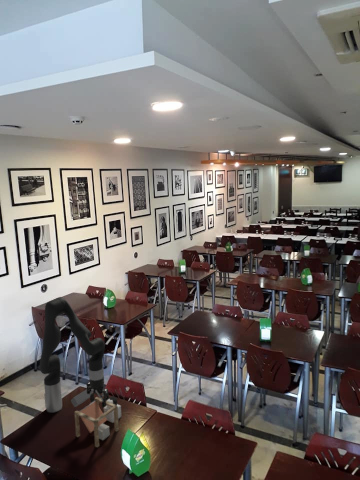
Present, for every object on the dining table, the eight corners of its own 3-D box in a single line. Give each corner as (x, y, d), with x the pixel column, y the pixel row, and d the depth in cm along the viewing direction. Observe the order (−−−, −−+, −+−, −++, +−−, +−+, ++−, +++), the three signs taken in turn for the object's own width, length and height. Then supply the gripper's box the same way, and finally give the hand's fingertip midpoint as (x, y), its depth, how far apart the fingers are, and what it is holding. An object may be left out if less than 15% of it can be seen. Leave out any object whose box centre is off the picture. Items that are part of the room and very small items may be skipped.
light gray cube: (95, 428, 193) (102, 431, 190) (102, 423, 197) (109, 426, 194) (96, 437, 194) (102, 440, 191) (103, 431, 198) (109, 435, 195)
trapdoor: (69, 401, 197) (72, 398, 195) (86, 390, 207) (89, 387, 205) (88, 434, 192) (92, 431, 190) (105, 421, 201) (108, 418, 199)
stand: (76, 436, 195) (74, 411, 193) (98, 420, 208) (96, 396, 206) (97, 447, 186) (95, 421, 184) (118, 430, 199) (117, 405, 197)
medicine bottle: (112, 412, 215) (111, 393, 213) (121, 416, 211) (120, 397, 209) (103, 419, 209) (102, 399, 207) (112, 423, 205) (111, 403, 203)
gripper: (81, 375, 192) (83, 403, 194) (100, 383, 184) (102, 412, 186) (92, 369, 198) (94, 396, 200) (111, 376, 190) (112, 404, 192)
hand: (98, 404), depth 193 cm, fingers open, 8 cm apart
